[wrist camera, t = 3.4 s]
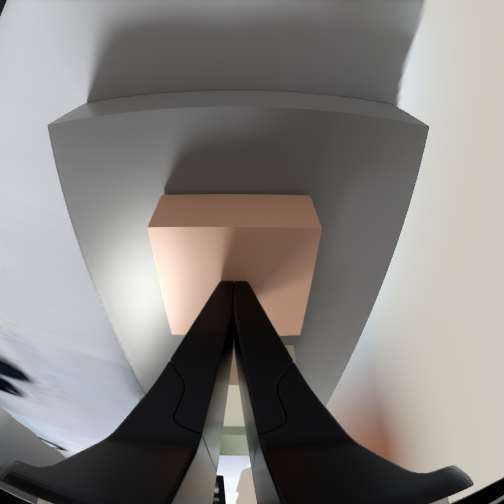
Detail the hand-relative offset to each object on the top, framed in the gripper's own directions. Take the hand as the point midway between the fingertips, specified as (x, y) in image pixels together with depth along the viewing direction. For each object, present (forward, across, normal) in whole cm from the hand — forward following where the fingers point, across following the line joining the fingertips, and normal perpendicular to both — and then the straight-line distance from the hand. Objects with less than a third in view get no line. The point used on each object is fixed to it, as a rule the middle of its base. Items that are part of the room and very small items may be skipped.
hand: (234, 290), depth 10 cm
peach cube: (+5, 0, 0) cm, 5 cm away
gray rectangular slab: (+5, 0, +6) cm, 8 cm away
